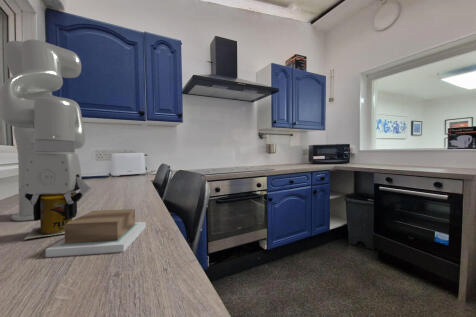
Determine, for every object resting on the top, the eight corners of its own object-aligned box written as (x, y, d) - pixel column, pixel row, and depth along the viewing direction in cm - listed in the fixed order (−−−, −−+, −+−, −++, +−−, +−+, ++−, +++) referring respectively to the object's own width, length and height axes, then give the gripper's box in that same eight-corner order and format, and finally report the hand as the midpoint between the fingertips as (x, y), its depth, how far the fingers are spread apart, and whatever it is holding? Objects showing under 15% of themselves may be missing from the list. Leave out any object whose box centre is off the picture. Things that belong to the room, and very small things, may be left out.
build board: (89, 230, 52) (89, 224, 52) (145, 227, 54) (145, 221, 54) (45, 257, 38) (45, 248, 38) (123, 251, 40) (123, 244, 40)
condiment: (71, 232, 49) (72, 185, 49) (23, 240, 45) (23, 187, 44) (75, 223, 55) (75, 181, 55) (33, 229, 51) (33, 183, 50)
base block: (93, 226, 50) (93, 210, 50) (135, 224, 51) (134, 209, 51) (64, 243, 40) (64, 224, 40) (117, 240, 42) (117, 221, 41)
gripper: (0, 147, 45) (0, 225, 45) (83, 148, 47) (84, 222, 48) (29, 147, 52) (30, 215, 52) (100, 149, 55) (100, 213, 55)
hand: (55, 218), depth 50 cm, fingers closed on condiment, 6 cm apart
